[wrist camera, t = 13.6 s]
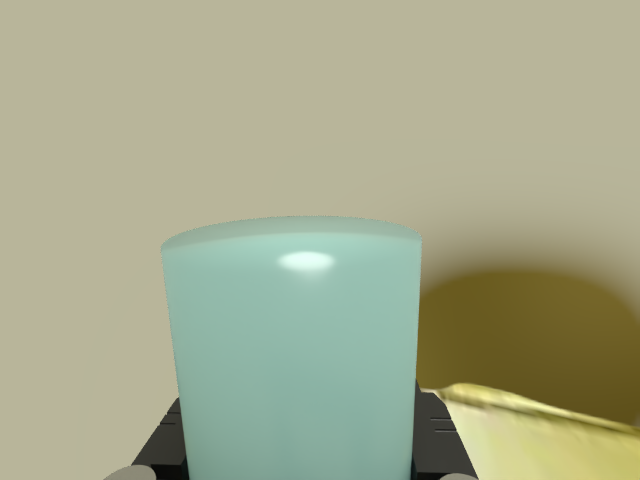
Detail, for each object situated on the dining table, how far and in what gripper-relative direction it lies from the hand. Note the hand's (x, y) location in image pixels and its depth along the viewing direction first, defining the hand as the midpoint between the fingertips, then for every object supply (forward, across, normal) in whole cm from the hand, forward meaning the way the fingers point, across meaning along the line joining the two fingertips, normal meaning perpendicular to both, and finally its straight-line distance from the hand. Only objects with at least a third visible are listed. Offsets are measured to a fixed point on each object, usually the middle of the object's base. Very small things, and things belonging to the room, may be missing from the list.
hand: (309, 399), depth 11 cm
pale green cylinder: (-3, 0, +7) cm, 7 cm away
